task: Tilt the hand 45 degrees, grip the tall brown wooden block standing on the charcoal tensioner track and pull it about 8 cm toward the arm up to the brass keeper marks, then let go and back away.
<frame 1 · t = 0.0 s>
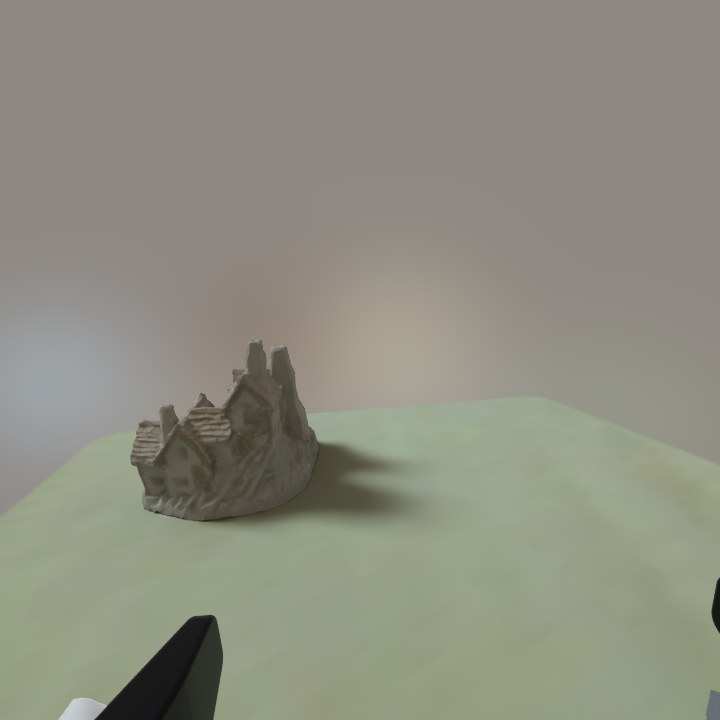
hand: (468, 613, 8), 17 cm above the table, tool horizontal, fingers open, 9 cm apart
ceramic cottage: (241, 474, 47), on the table
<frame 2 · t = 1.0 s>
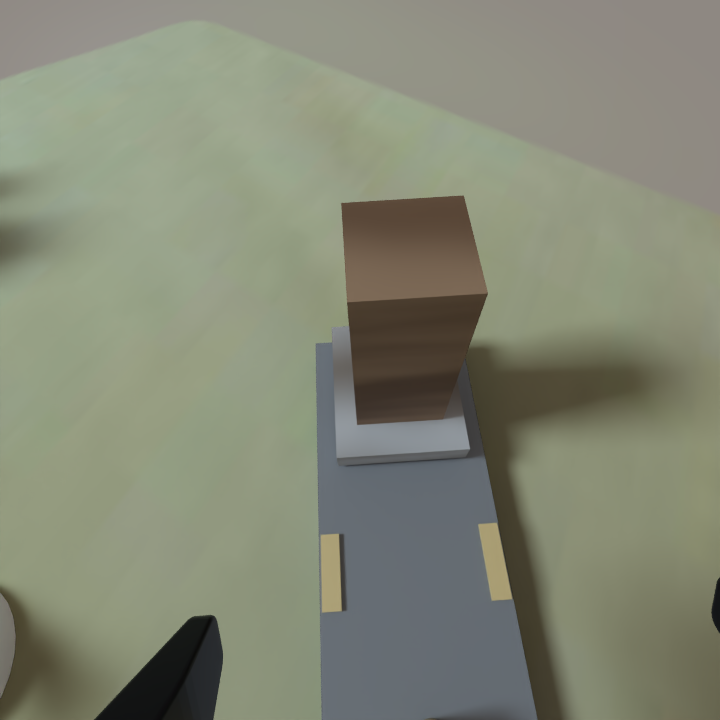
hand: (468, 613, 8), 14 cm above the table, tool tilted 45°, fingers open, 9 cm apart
tensioner track: (393, 408, 25), on the table
brown wooden block: (400, 338, 19), point 7 cm above the table, slide at 0.0 cm
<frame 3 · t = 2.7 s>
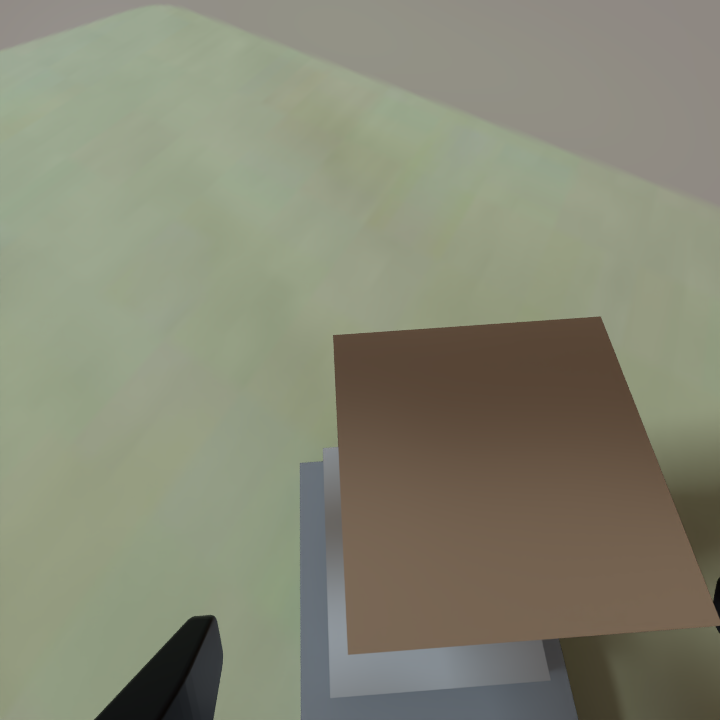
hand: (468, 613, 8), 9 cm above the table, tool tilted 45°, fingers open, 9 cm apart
tensioner track: (415, 560, 17), on the table
brown wooden block: (441, 527, 11), point 7 cm above the table, slide at 0.0 cm
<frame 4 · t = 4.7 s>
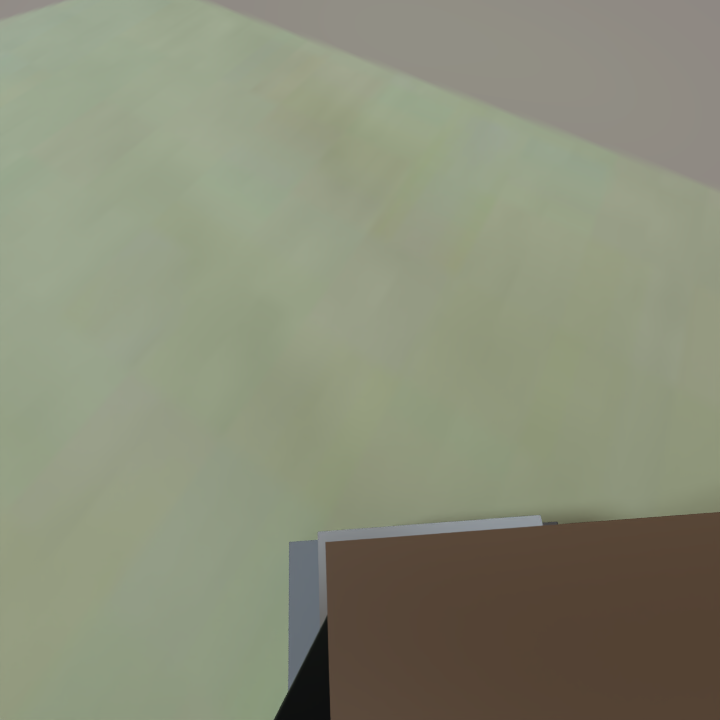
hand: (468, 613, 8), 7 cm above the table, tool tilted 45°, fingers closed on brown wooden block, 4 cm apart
tensioner track: (434, 667, 13), on the table
brown wooden block: (491, 718, 7), point 7 cm above the table, slide at 0.0 cm, touching gripper
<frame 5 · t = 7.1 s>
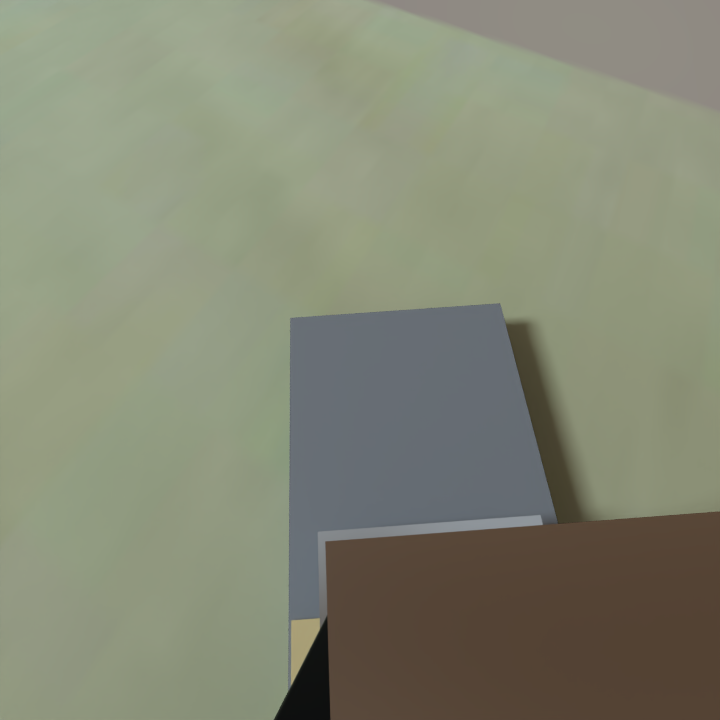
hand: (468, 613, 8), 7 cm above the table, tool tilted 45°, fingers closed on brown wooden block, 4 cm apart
tensioner track: (403, 411, 17), on the table
brown wooden block: (491, 718, 7), point 7 cm above the table, slide at 8.0 cm, touching gripper
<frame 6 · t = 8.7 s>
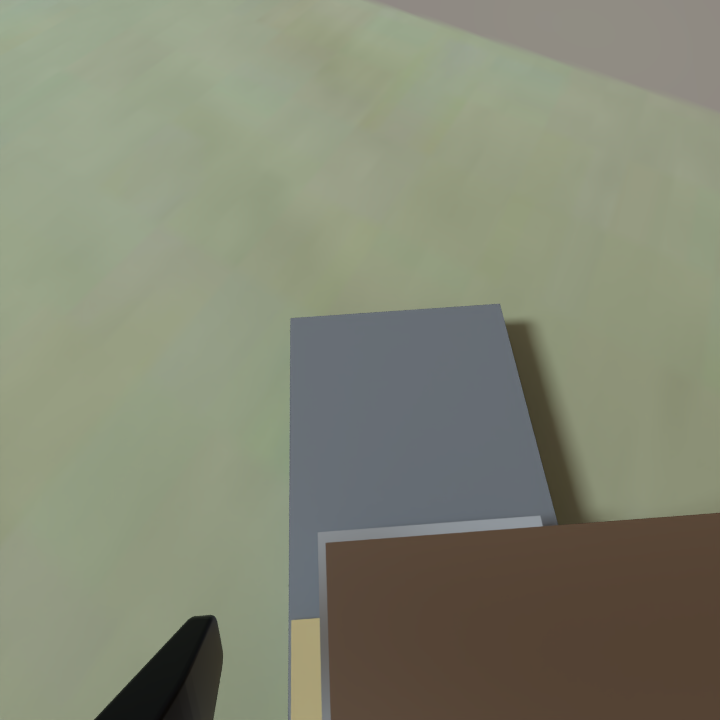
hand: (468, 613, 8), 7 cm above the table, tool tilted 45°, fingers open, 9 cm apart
tensioner track: (403, 411, 17), on the table
brown wooden block: (491, 718, 7), point 7 cm above the table, slide at 8.0 cm
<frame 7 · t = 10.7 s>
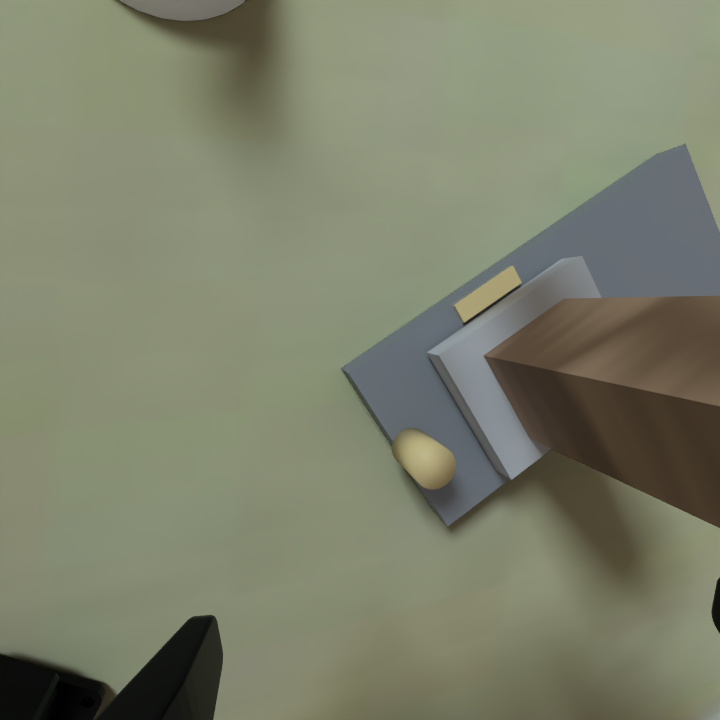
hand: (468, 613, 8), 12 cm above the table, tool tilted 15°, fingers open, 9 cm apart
tensioner track: (633, 267, 22), on the table
brown wooden block: (631, 387, 14), point 7 cm above the table, slide at 8.0 cm
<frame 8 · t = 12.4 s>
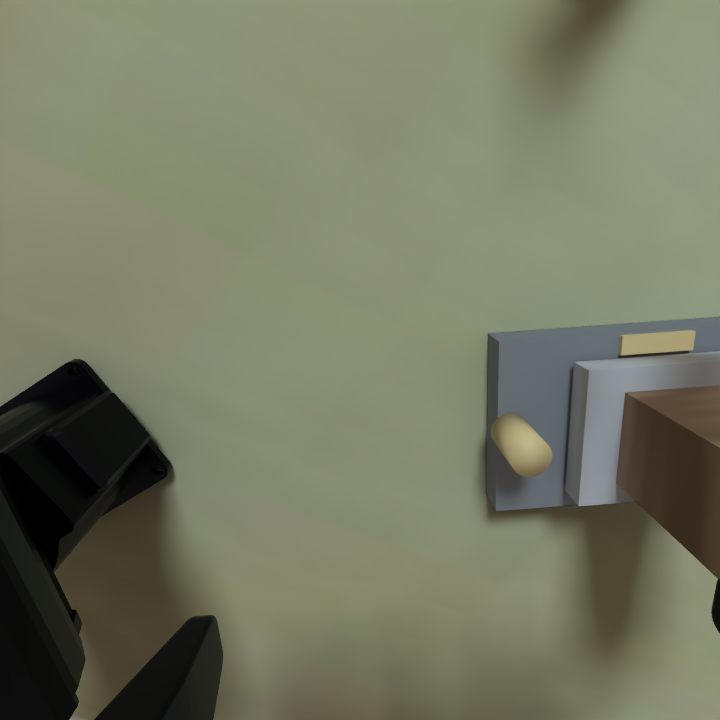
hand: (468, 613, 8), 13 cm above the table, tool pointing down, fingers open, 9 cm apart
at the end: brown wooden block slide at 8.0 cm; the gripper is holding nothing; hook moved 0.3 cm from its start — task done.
